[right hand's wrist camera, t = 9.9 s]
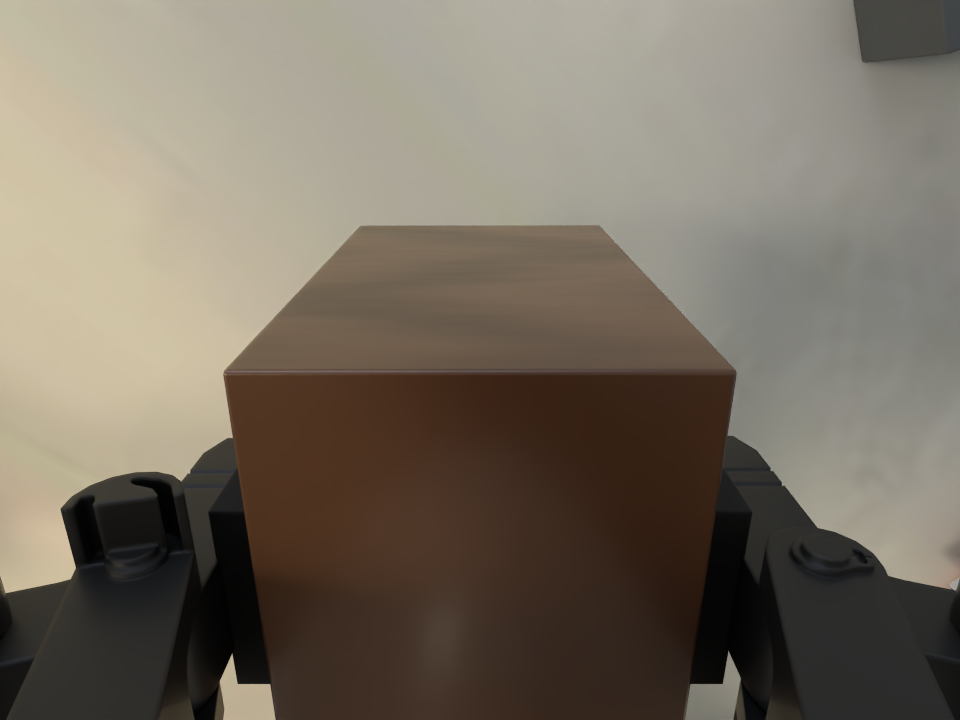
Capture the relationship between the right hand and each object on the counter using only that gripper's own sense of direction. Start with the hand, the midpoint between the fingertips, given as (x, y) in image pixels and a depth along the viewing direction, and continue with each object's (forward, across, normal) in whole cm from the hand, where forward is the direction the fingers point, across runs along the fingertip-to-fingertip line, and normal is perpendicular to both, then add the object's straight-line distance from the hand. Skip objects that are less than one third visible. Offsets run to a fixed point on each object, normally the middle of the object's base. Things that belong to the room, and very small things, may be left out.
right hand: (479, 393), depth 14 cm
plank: (+1, 0, -10) cm, 11 cm away
